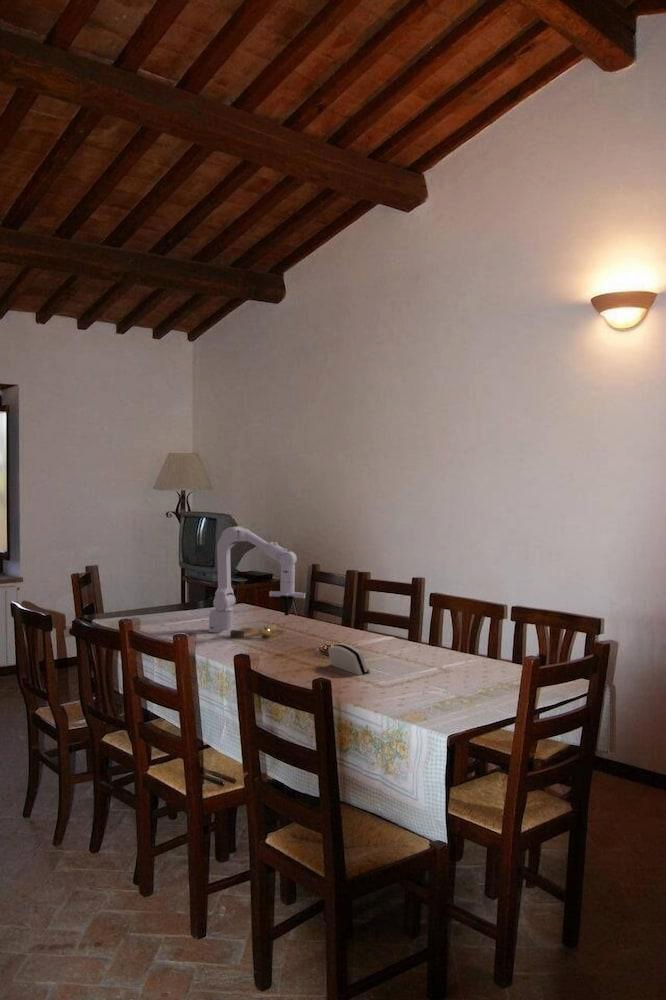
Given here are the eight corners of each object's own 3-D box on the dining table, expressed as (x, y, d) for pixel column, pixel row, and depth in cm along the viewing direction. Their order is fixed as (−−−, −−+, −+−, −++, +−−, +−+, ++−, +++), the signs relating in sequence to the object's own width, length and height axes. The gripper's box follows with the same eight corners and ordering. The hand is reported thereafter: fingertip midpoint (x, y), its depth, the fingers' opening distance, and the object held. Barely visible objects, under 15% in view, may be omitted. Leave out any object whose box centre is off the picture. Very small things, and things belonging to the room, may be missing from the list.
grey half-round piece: (371, 673, 283) (364, 646, 281) (360, 679, 281) (353, 653, 278) (342, 663, 297) (335, 637, 294) (331, 669, 294) (324, 643, 292)
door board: (225, 641, 327) (226, 632, 327) (242, 630, 350) (242, 621, 350) (273, 644, 324) (273, 635, 324) (286, 633, 347) (286, 624, 347)
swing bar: (268, 637, 329) (269, 628, 329) (261, 636, 330) (261, 628, 330) (277, 630, 343) (277, 622, 343) (269, 630, 344) (269, 621, 344)
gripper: (267, 582, 335) (267, 615, 336) (303, 583, 333) (302, 617, 333) (271, 579, 342) (271, 612, 342) (306, 581, 339) (305, 614, 340)
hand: (286, 614), depth 338 cm, fingers closed
